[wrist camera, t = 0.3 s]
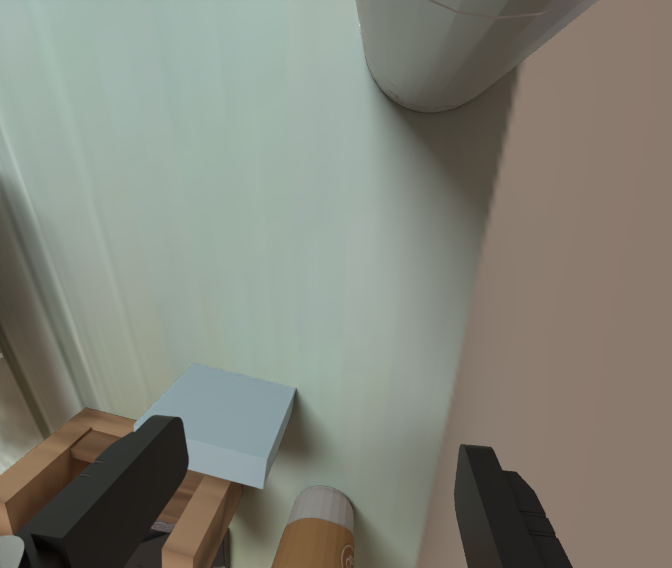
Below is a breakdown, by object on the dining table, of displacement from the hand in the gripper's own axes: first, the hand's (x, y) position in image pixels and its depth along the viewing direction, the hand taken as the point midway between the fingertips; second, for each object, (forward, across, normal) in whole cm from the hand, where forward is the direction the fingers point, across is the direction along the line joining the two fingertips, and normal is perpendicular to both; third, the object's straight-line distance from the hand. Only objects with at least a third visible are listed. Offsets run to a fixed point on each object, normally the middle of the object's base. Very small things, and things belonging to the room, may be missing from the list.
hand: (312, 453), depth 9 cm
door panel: (+18, +11, +11) cm, 24 cm away
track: (+19, +21, +20) cm, 34 cm away
